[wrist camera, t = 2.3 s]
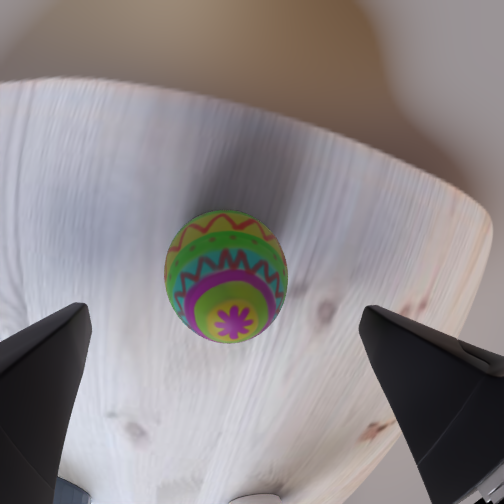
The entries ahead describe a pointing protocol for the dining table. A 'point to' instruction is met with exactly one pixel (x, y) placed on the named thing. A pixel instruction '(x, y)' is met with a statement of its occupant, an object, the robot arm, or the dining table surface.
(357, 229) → the dining table surface
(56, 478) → the robot arm
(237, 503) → the foam cup
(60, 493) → the cup
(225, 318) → the egg
